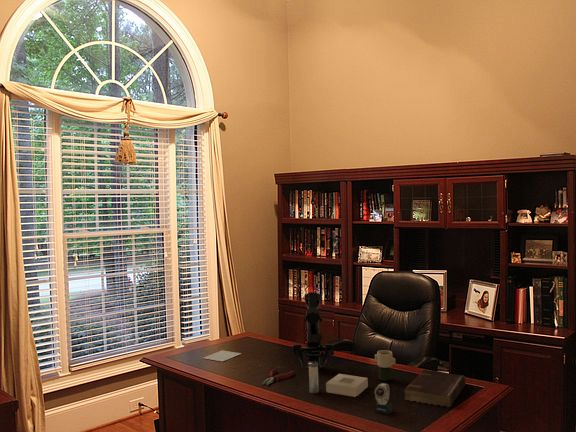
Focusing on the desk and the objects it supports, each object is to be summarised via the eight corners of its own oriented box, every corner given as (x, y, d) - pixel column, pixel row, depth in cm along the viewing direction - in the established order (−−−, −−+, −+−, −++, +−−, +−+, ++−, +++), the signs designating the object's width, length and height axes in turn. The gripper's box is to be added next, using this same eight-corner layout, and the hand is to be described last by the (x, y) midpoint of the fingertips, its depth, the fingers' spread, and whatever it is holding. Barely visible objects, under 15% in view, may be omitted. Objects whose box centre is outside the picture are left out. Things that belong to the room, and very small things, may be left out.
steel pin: (311, 389, 240) (310, 360, 239) (321, 390, 237) (320, 361, 237) (307, 392, 236) (306, 363, 235) (316, 394, 233) (315, 364, 233)
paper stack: (255, 356, 294) (255, 355, 293) (226, 369, 272) (226, 368, 272) (222, 351, 306) (222, 350, 306) (192, 363, 285) (192, 362, 285)
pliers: (253, 385, 249) (253, 379, 249) (274, 372, 267) (274, 367, 266) (275, 388, 243) (274, 383, 243) (295, 375, 261) (295, 370, 261)
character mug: (399, 380, 248) (399, 352, 248) (391, 384, 243) (390, 356, 243) (379, 375, 256) (378, 348, 255) (371, 379, 250) (370, 351, 250)
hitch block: (339, 382, 248) (339, 373, 248) (367, 386, 241) (367, 377, 241) (326, 392, 236) (325, 383, 236) (355, 397, 229) (355, 387, 229)
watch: (372, 413, 210) (372, 386, 210) (381, 407, 217) (380, 380, 217) (386, 416, 207) (385, 388, 207) (394, 409, 214) (393, 382, 214)
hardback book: (450, 408, 215) (450, 396, 214) (404, 401, 224) (404, 389, 224) (465, 386, 240) (465, 375, 239) (423, 380, 249) (423, 369, 249)
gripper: (292, 327, 245) (291, 357, 234) (333, 326, 244) (334, 357, 233) (293, 339, 253) (293, 370, 242) (333, 339, 252) (334, 369, 241)
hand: (313, 366), depth 239 cm, fingers open, 9 cm apart
